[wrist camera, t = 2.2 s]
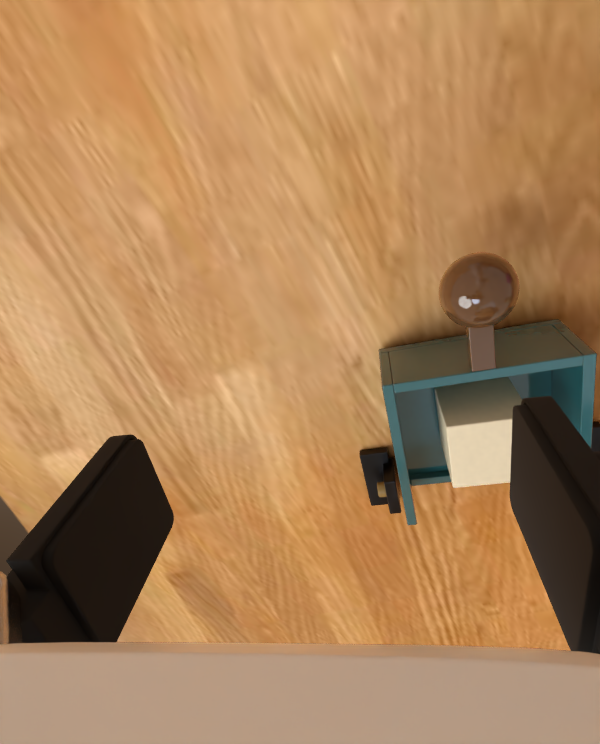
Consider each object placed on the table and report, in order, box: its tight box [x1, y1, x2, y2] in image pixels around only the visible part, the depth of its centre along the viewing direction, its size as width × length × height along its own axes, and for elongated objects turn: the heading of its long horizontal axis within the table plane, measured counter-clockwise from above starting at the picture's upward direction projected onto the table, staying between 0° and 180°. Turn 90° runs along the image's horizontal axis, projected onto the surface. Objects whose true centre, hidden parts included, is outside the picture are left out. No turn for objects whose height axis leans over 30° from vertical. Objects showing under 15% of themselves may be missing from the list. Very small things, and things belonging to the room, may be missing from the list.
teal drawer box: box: [379, 252, 597, 525], centre depth 25 cm, size 17×11×6 cm, turn 14°
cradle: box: [360, 422, 600, 514], centre depth 31 cm, size 5×16×3 cm, turn 104°
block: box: [434, 377, 522, 488], centre depth 27 cm, size 4×4×4 cm
